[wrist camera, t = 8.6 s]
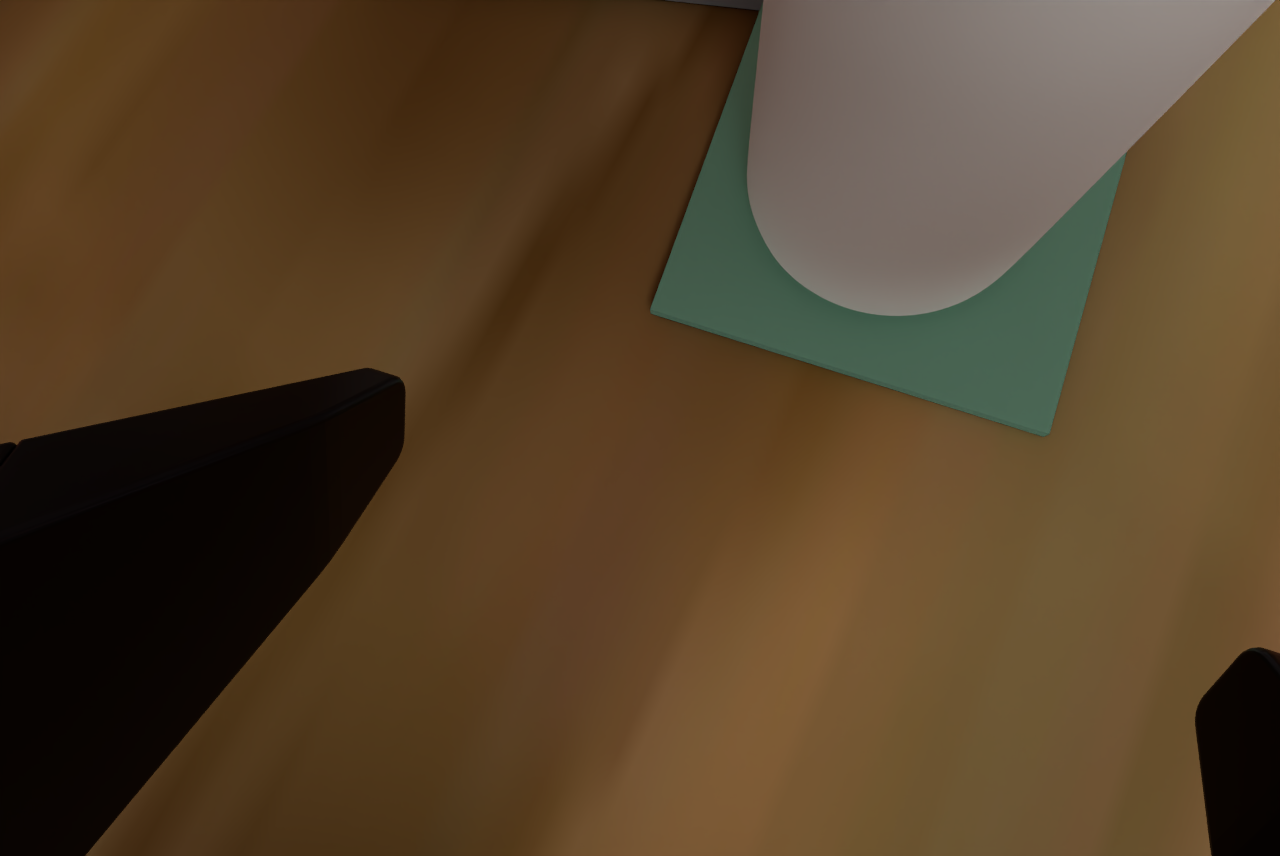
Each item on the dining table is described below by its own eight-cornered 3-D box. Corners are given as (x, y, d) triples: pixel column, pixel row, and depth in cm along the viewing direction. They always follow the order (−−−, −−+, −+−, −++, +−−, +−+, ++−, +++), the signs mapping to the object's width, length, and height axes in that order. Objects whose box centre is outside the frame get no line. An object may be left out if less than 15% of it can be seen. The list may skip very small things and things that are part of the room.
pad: (1043, 436, 17) (1049, 434, 17) (651, 313, 18) (650, 309, 18) (1142, 77, 18) (1149, 68, 18) (771, -15, 19) (771, -24, 19)
